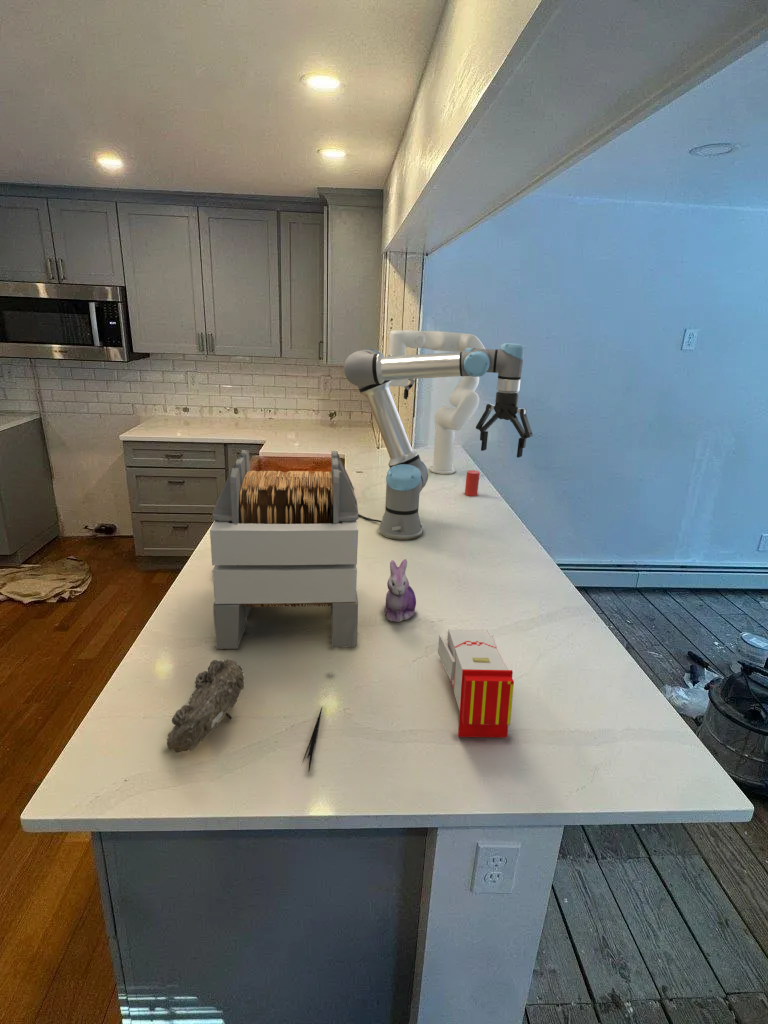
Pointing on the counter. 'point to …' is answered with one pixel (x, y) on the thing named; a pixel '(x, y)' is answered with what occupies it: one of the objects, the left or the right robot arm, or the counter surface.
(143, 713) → the counter surface
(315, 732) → the feather
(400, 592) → the figurine
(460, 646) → the toy
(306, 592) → the grey record storage rack
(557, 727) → the counter surface
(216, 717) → the fossil
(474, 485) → the can
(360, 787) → the counter surface
